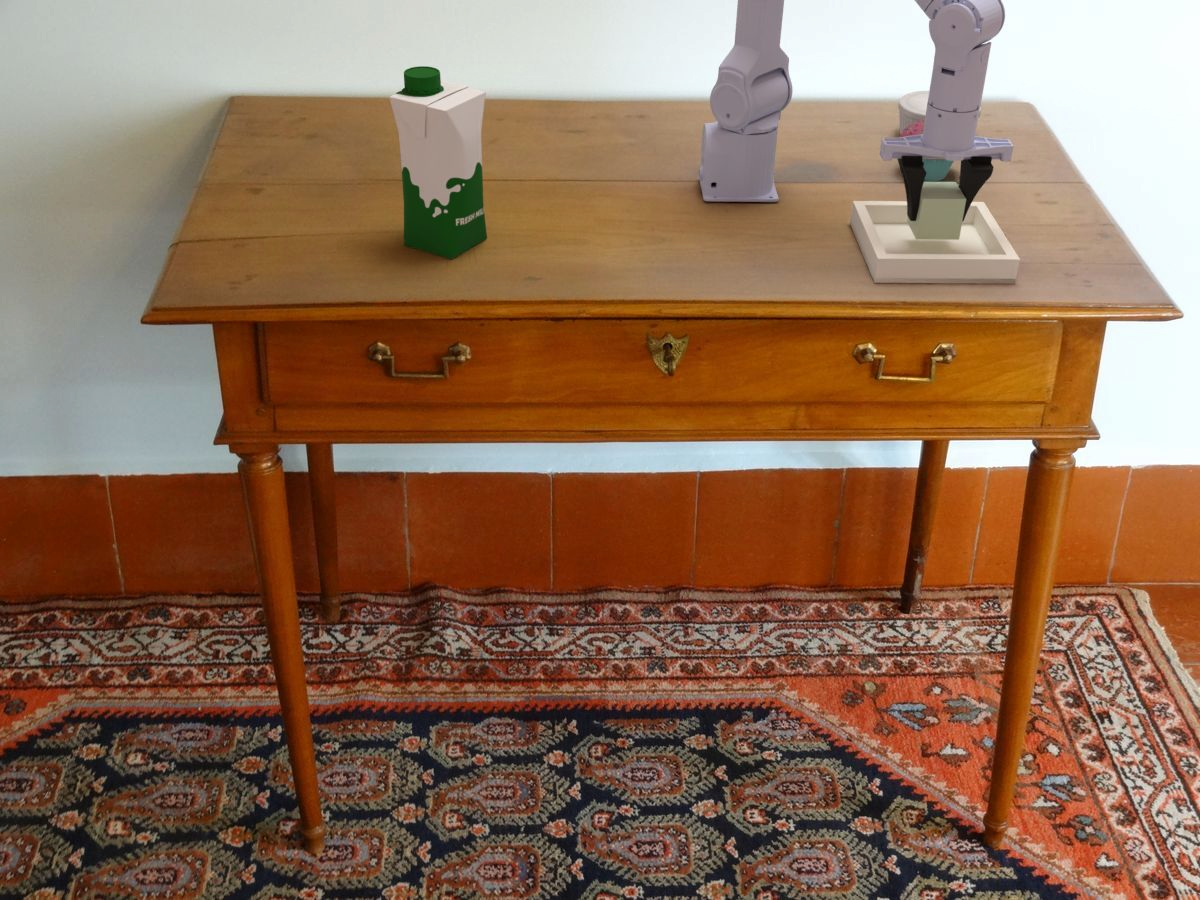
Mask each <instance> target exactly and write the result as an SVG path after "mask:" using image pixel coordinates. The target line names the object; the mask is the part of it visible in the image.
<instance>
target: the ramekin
mask: <svg viewBox="0 0 1200 900" xmlns="http://www.w3.org/2000/svg"><path fill="white" fill-rule="evenodd" d="M928 97H929V90H918V91H913V92H909V93H906V94H904V95H903V96H901V97H899V99H898V105H897V109H898V110H899V112H898V113H899V114H898V115H899V133H902V131H903V130H904V129H905V128H906V127H907V126H909V125H912V124H914V123H917V122H918V121H919V122H920V121H921V120H925V116H926V109H927V102H928ZM981 114H982V107H981V106H980V110H979V116H978V119H979V118H980V116H981Z"/></svg>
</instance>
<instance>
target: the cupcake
mask: <svg viewBox="0 0 1200 900" xmlns="http://www.w3.org/2000/svg"><path fill="white" fill-rule="evenodd" d="M924 122H925V120H921V121H920V122H919V121H918V122H917V123H914V124H912V125H909V126H907V127H906V128H905V129H904V130H903V131H902V133H900V132H899V133H900V134H899V137H906V136H913V135H921V134H923V129H924ZM922 161H923V162H924V166H923V167H924V169H925V171H926V176H925V179H924V180H925V181H924V182H940V181H942V180H944V179H945V178H946V177H947V175H948V173H949V171H950V169H951V167H952V165H953V164H954V162H955V161H948V160H945V159H922Z"/></svg>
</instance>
